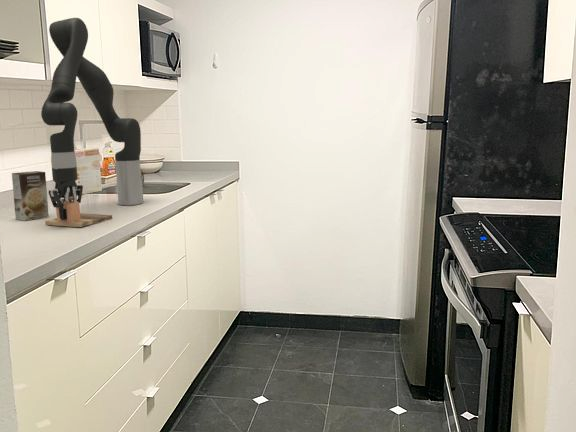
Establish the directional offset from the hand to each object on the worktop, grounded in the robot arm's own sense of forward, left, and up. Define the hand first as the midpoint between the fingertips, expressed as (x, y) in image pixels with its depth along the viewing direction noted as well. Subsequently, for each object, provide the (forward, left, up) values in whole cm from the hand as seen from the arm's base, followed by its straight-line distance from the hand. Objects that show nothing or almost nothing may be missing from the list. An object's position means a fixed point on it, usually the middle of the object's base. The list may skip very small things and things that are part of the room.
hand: (68, 218), depth 192 cm
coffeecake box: (-61, -43, -3) cm, 75 cm away
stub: (0, 0, -2) cm, 2 cm away
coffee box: (-6, -21, -3) cm, 22 cm away
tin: (-81, -30, -3) cm, 87 cm away
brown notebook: (-8, 0, -2) cm, 9 cm away
